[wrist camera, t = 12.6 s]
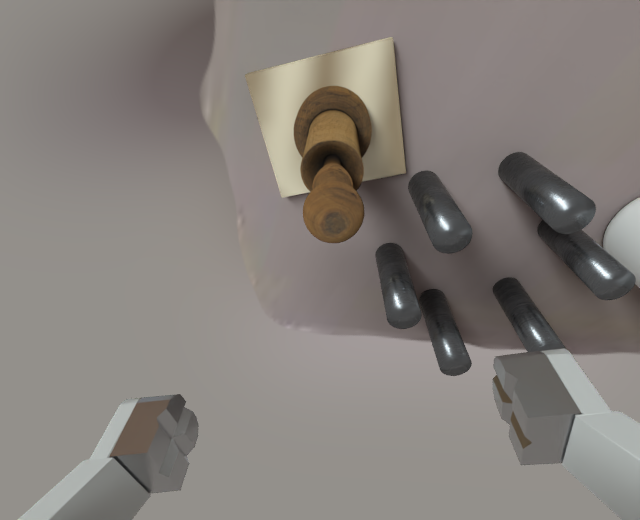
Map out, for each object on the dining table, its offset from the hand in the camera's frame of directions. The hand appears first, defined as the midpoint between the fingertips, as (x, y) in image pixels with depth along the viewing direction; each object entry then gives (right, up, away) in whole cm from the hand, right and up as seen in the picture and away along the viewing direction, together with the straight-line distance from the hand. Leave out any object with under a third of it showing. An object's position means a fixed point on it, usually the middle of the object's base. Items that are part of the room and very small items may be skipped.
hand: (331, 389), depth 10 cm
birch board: (+1, +16, +23) cm, 28 cm away
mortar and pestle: (+1, +15, +23) cm, 27 cm away
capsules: (+16, +5, +30) cm, 34 cm away
